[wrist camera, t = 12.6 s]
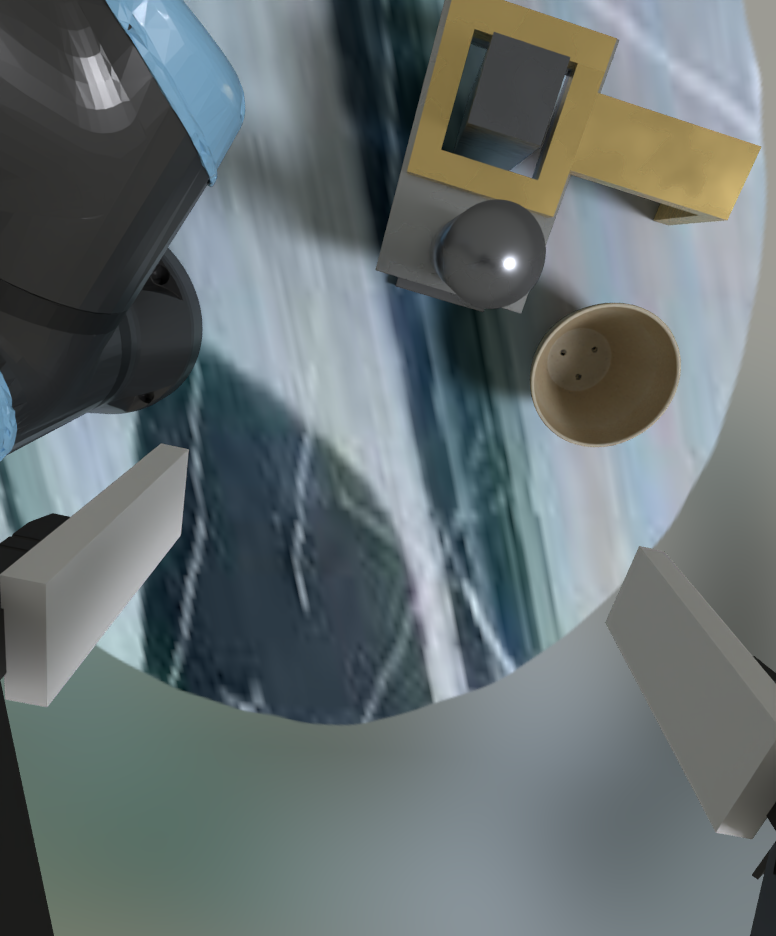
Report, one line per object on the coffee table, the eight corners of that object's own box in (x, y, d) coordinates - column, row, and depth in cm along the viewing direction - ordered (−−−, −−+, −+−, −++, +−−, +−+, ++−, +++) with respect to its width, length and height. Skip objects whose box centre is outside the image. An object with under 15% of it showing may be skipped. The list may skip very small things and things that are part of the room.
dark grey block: (469, 94, 39) (493, 31, 28) (524, 111, 39) (570, 57, 28) (451, 157, 40) (467, 122, 29) (504, 174, 40) (540, 145, 29)
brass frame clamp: (377, 279, 43) (348, 308, 23) (442, 28, 37) (482, -237, 17) (614, 350, 45) (788, 437, 24) (714, 118, 39) (1056, -27, 18)
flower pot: (535, 281, 43) (559, 287, 36) (660, 311, 43) (705, 322, 37) (498, 404, 47) (513, 430, 40) (613, 430, 47) (647, 461, 40)
